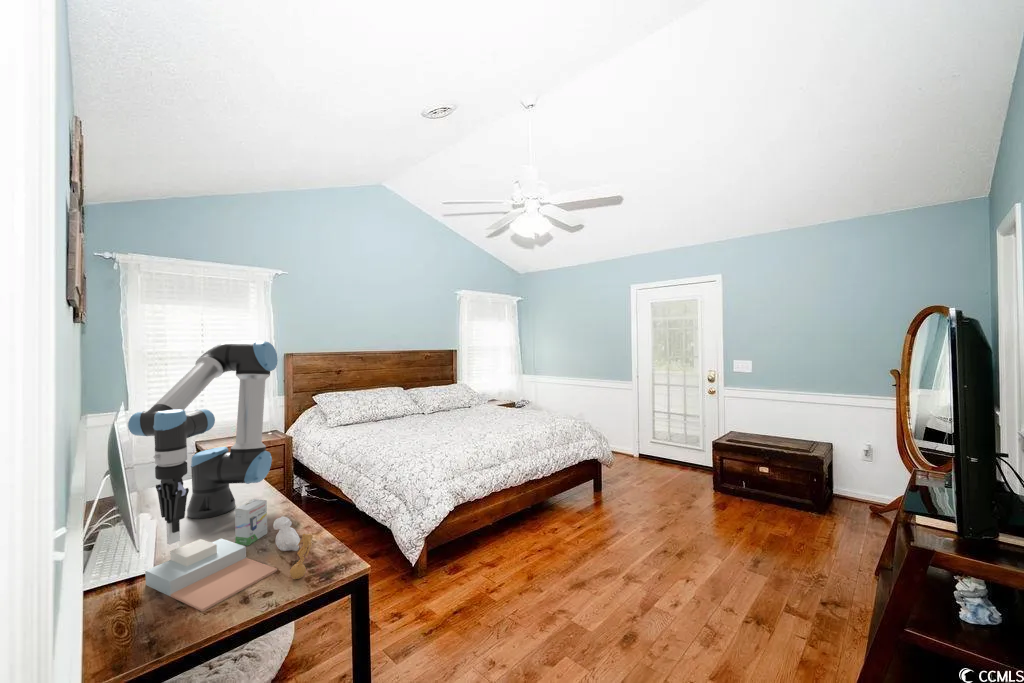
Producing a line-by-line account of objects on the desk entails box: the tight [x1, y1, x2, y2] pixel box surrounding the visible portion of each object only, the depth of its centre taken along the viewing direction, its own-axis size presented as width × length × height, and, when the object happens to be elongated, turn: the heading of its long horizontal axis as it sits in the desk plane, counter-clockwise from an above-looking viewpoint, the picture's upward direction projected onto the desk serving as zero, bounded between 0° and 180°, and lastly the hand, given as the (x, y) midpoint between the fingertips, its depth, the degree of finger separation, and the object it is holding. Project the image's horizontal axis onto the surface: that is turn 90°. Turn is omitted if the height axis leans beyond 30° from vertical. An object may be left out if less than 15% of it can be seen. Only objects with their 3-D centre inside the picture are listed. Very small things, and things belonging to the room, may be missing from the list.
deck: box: [144, 537, 247, 598], centre depth 126 cm, size 20×12×4 cm, turn 154°
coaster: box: [169, 538, 217, 566], centre depth 127 cm, size 8×8×2 cm
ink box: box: [234, 498, 268, 547], centre depth 145 cm, size 9×5×12 cm, turn 168°
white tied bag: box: [273, 515, 301, 552], centre depth 139 cm, size 12×8×11 cm
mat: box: [170, 557, 278, 612], centre depth 121 cm, size 20×14×1 cm
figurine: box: [289, 533, 313, 580], centre depth 123 cm, size 8×6×12 cm
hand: (173, 542), depth 131 cm, fingers closed
